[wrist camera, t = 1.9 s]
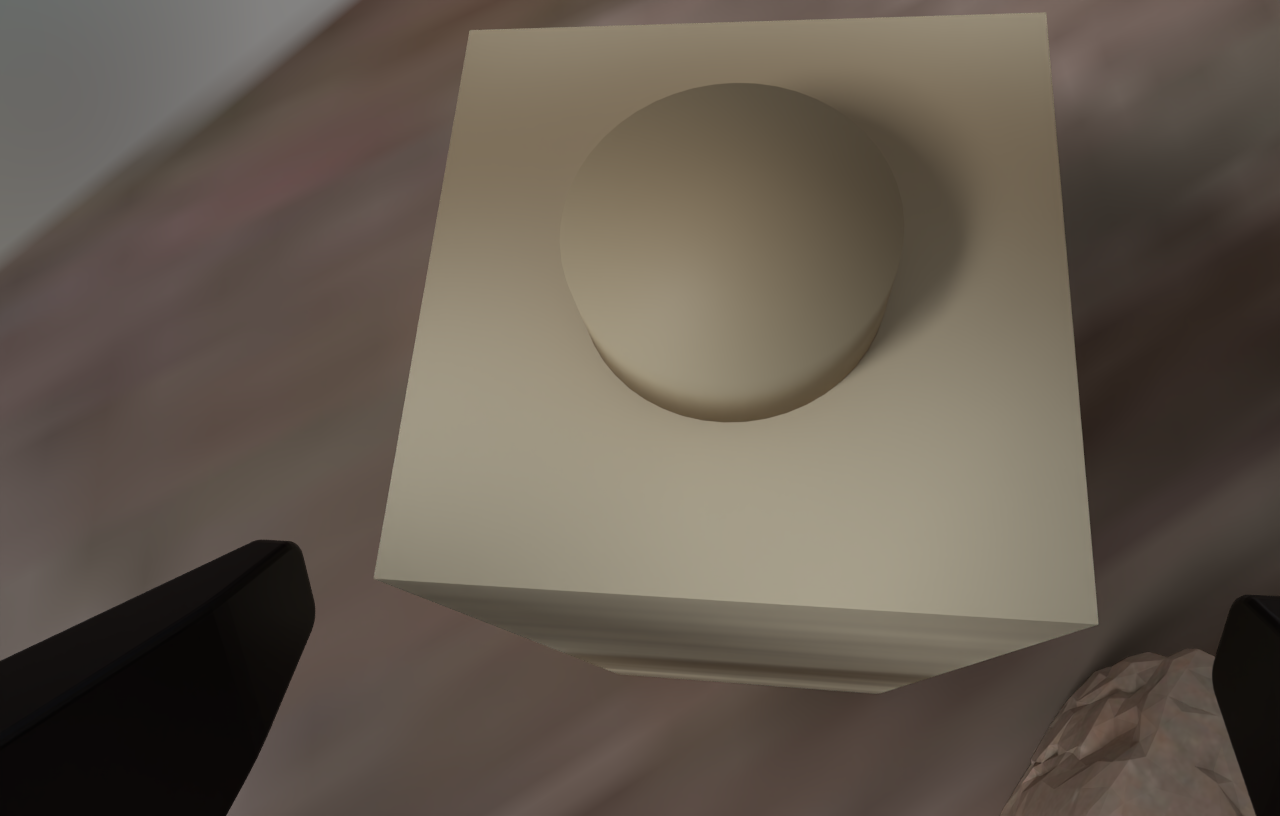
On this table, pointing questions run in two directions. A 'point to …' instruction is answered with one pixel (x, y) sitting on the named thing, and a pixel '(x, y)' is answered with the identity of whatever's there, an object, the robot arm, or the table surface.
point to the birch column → (751, 353)
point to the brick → (1137, 746)
